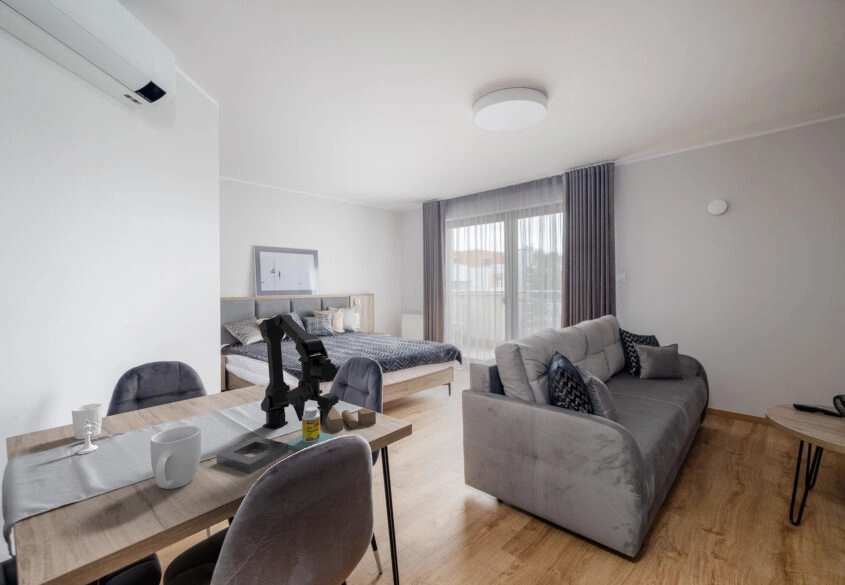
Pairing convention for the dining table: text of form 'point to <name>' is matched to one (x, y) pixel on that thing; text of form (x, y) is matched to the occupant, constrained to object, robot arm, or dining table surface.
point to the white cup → (82, 414)
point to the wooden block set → (349, 418)
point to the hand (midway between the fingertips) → (311, 423)
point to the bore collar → (247, 464)
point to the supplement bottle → (310, 425)
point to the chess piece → (87, 439)
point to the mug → (175, 456)
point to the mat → (300, 444)
